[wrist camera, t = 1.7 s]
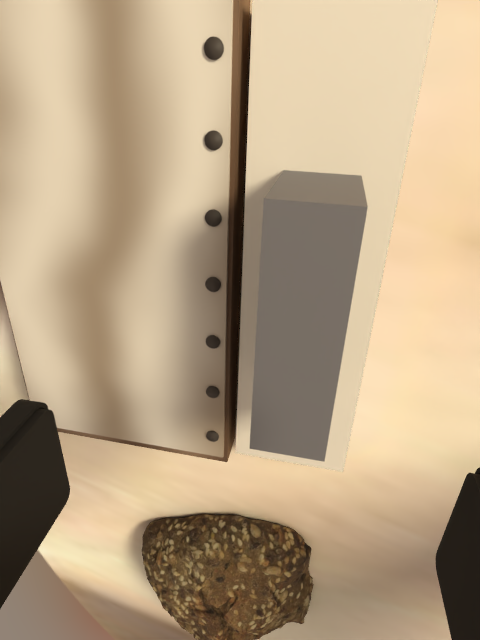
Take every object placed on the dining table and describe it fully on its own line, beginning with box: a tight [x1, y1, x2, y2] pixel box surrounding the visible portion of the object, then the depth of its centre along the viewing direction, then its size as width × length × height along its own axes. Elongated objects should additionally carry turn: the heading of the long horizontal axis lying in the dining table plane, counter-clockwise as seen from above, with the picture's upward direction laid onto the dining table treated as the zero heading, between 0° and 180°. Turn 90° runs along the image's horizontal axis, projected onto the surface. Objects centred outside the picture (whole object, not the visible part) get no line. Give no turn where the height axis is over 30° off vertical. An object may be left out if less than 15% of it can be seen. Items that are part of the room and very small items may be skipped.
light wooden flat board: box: [0, 0, 250, 462], centre depth 22 cm, size 12×22×2 cm, turn 178°
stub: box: [236, 0, 438, 472], centre depth 18 cm, size 6×21×7 cm, turn 178°
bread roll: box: [142, 514, 313, 640], centre depth 31 cm, size 13×12×5 cm
